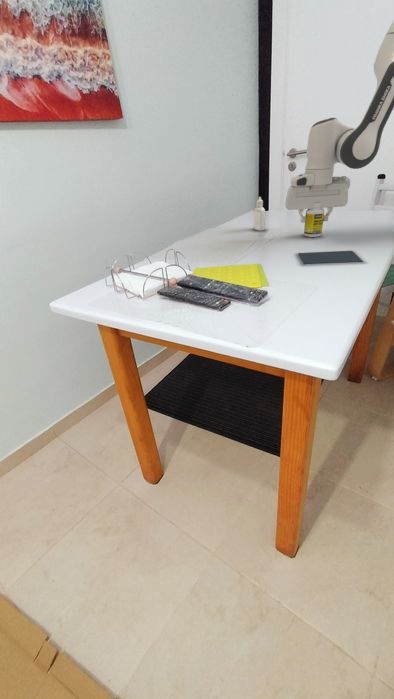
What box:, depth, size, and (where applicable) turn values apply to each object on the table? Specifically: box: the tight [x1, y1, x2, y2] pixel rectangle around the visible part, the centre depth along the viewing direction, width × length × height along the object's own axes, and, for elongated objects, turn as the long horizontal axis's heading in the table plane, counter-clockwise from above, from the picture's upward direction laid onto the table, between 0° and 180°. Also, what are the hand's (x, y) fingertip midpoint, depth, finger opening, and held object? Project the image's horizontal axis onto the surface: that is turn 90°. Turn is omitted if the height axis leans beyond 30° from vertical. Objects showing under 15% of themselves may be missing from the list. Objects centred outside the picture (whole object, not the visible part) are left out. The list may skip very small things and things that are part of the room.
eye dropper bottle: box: [253, 196, 266, 232], centre depth 131 cm, size 4×6×12 cm
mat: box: [298, 250, 363, 265], centre depth 100 cm, size 16×10×1 cm, turn 85°
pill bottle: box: [303, 203, 325, 238], centre depth 118 cm, size 6×6×11 cm
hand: (313, 221), depth 119 cm, fingers closed on pill bottle, 6 cm apart
